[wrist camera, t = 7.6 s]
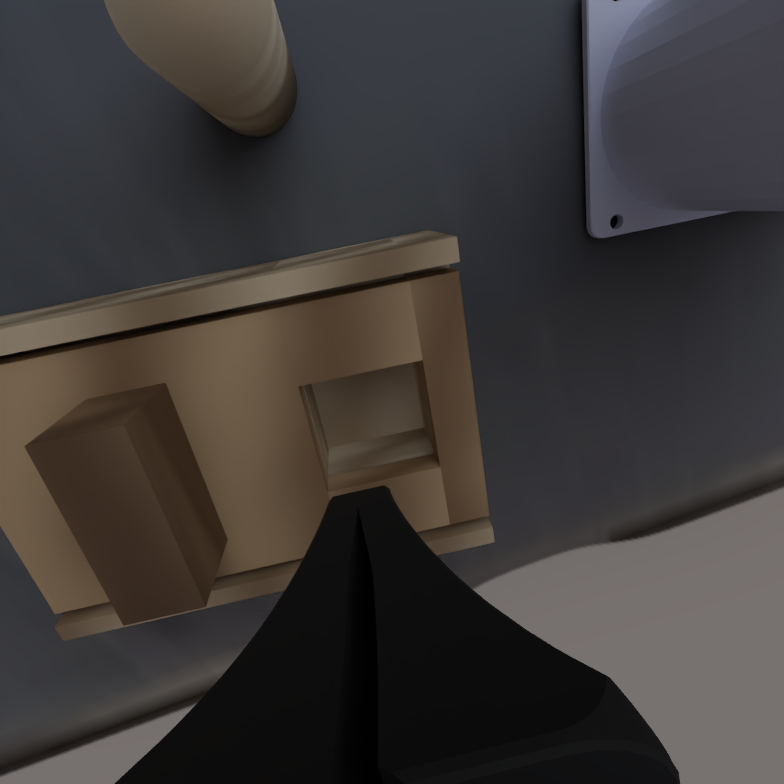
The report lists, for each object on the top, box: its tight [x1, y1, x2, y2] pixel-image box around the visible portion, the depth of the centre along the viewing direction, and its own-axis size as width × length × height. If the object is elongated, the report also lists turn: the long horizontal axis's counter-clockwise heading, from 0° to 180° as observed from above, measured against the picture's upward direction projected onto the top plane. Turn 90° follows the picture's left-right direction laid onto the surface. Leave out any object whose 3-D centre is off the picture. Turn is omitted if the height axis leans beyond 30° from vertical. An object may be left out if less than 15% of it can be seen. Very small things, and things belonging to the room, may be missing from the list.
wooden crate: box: [0, 230, 494, 641], centre depth 17 cm, size 16×11×4 cm
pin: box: [104, 0, 297, 137], centre depth 12 cm, size 3×3×7 cm
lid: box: [0, 267, 489, 626], centre depth 14 cm, size 16×9×4 cm, turn 100°
